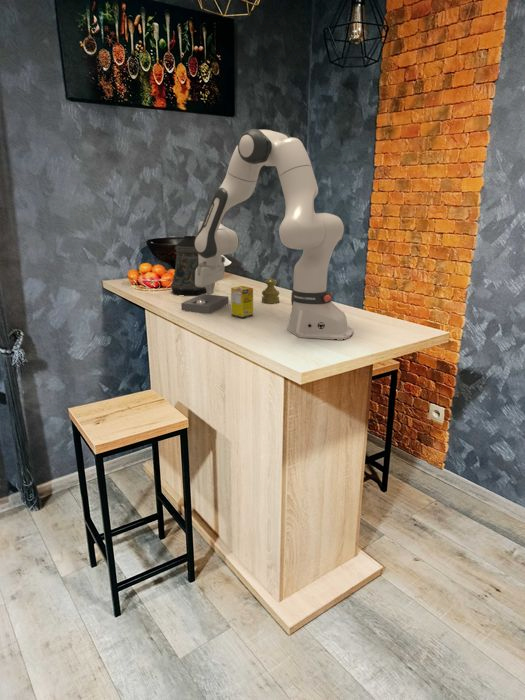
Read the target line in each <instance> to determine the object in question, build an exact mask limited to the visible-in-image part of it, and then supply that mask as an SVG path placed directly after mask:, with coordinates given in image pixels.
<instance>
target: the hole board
mask: <svg viewBox="0 0 525 700" xmlns="http://www.w3.org/2000/svg"><path fill="white" fill-rule="evenodd" d="M199 299H202V300H204V301H205V302H206V303H205V304H197V303H196V302H197V300H199ZM228 303H229V296H226V295H217V294H211V295H207V293H206V294H201V295H198V296H193V297H192V298H190V299H188V300H185V301H184V302H181V305H180V306H181V311H182V310H185V311H184V312H189V311H191V312H190V313H198V312H199V313H200V314H211V312H212V313H213V312H216V311H217V310H219V309H221V308H223V307H225V306H227V305H228ZM226 304H227V305H226ZM224 305H225V306H224Z"/></svg>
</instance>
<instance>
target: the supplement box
mask: <svg viewBox="0 0 525 700" xmlns="http://www.w3.org/2000/svg"><path fill="white" fill-rule="evenodd" d="M230 291H231V293H230V294H231V295H230V296H231V297H230V298H231V301H230V303H231V307H230V309H231V317H235V318H238V319H241V320H242V319H243V320H244V319H247V318H250V317H253V316H254V288H253V287H249V286H245V285H240V286H234V287H231V288H230Z"/></svg>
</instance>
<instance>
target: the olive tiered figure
mask: <svg viewBox="0 0 525 700" xmlns="http://www.w3.org/2000/svg"><path fill="white" fill-rule="evenodd" d="M264 283H265V284H266V285H267V287H266V288H265V289H263V290H262V291H261V295H262V296H261V302H262V303H263V304H267V303H268V305H269V304H270V305H272V304H274V303H275V304H279V302H280V296H279V295H280V291H279V290H277V288H275V285H276V284H277V283H278V282H277V280H276V279H274V278H272V277H271V278H270V277H269V278H268V279H266V280H264Z"/></svg>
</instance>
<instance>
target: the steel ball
mask: <svg viewBox="0 0 525 700" xmlns="http://www.w3.org/2000/svg"><path fill="white" fill-rule="evenodd" d="M196 303H197V304H205V303H206V302H205V301H204V300H202V299H199V300H197V302H196Z"/></svg>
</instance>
